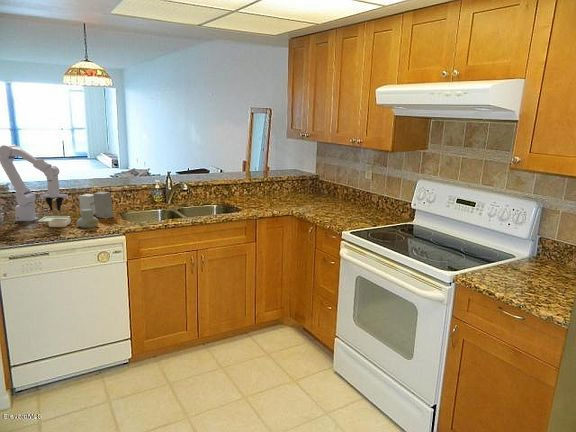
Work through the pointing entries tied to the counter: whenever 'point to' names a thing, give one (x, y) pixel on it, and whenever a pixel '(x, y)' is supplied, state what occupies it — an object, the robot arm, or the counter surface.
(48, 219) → the tray
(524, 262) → the counter surface
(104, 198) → the skincare box
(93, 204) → the supplement box
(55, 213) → the dowel
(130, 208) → the counter surface
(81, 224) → the air freshener
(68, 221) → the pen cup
